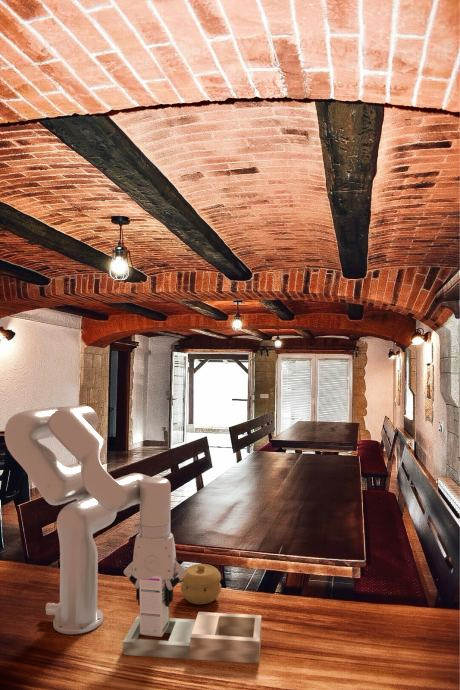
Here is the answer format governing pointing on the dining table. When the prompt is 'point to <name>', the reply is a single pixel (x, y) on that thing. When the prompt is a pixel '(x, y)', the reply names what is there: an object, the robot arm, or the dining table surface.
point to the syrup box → (153, 607)
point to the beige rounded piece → (201, 584)
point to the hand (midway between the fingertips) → (154, 602)
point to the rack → (202, 638)
